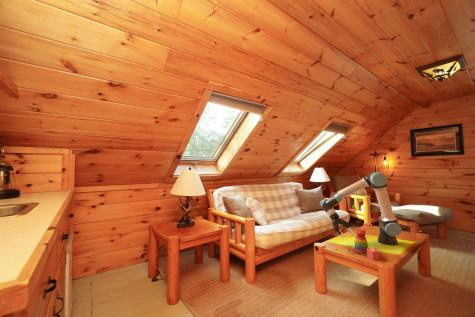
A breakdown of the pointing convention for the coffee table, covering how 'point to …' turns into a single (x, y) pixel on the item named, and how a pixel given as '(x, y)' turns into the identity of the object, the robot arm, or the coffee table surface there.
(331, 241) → the coffee table surface
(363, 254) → the game track
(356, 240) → the stacking bear
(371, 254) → the red die
